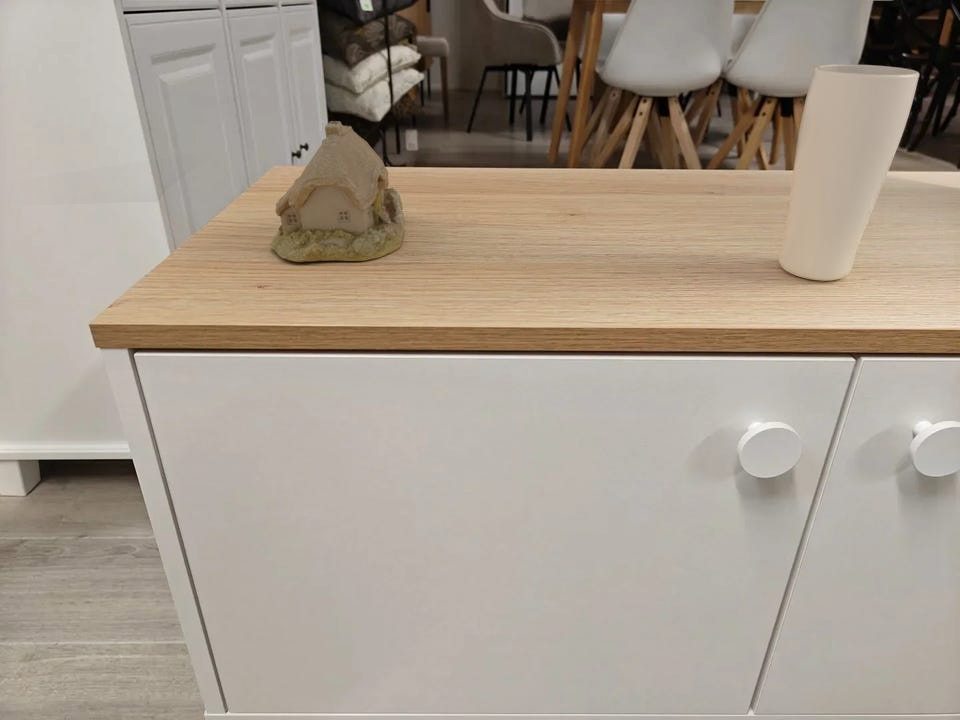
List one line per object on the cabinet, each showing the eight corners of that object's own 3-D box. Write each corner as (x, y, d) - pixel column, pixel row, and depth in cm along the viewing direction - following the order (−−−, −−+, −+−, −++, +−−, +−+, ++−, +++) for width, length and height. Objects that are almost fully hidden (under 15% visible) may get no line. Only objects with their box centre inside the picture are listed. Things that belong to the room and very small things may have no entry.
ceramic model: (389, 268, 54) (381, 140, 49) (255, 263, 55) (234, 137, 50) (419, 215, 67) (415, 109, 62) (309, 211, 67) (296, 106, 63)
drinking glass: (804, 291, 51) (861, 76, 43) (750, 259, 56) (792, 65, 49) (879, 282, 52) (946, 73, 45) (818, 252, 58) (869, 63, 50)
